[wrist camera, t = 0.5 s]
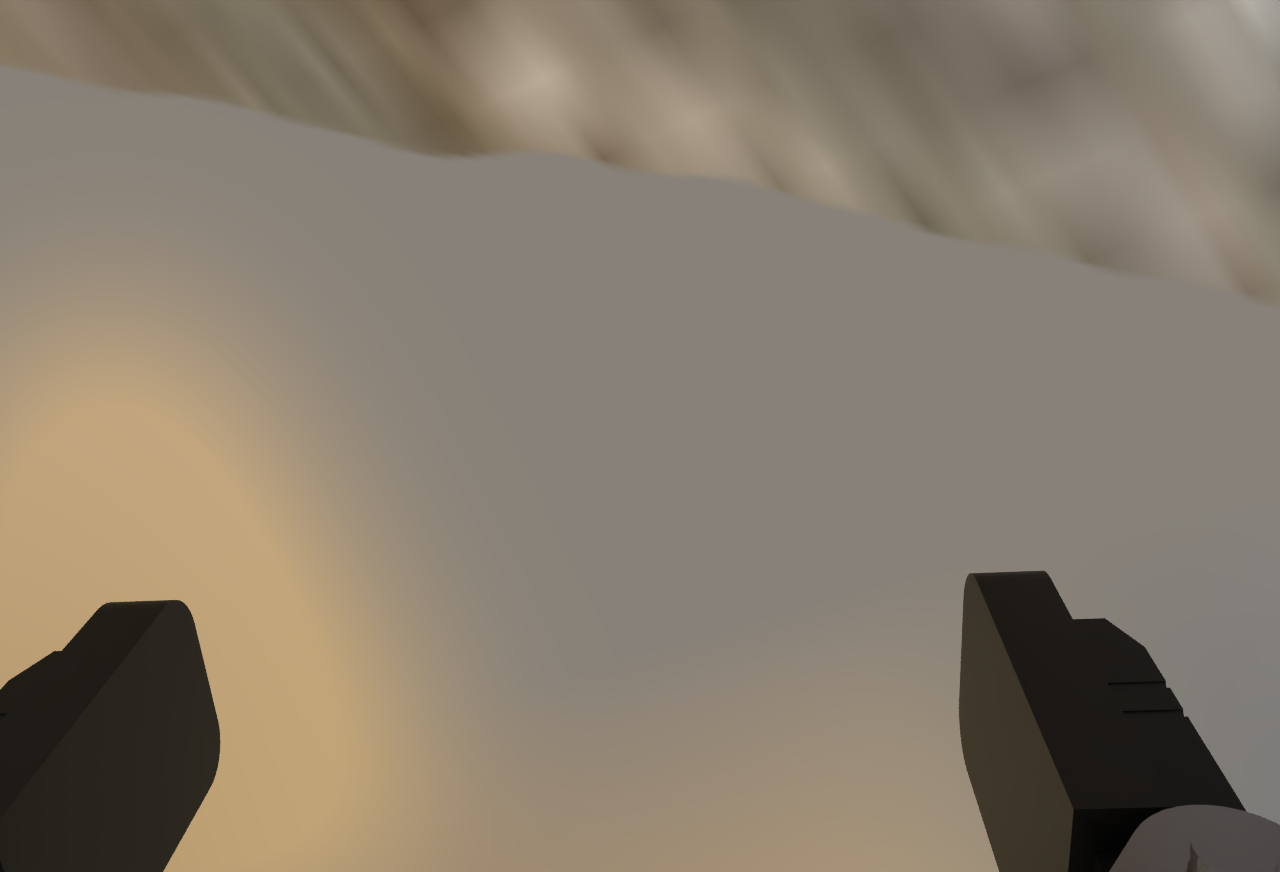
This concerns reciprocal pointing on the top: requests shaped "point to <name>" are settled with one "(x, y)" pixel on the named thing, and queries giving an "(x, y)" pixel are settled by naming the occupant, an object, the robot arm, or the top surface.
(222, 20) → the top surface
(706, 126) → the top surface
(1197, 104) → the top surface
